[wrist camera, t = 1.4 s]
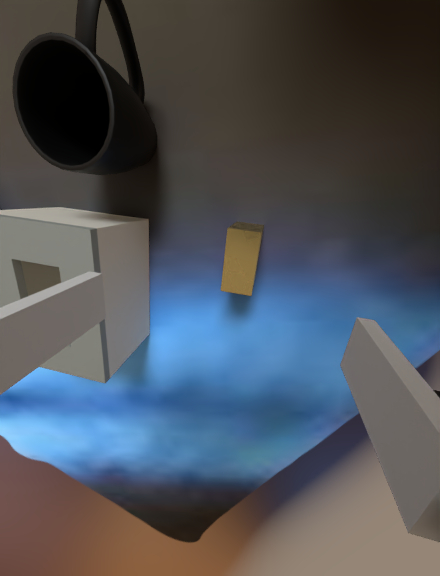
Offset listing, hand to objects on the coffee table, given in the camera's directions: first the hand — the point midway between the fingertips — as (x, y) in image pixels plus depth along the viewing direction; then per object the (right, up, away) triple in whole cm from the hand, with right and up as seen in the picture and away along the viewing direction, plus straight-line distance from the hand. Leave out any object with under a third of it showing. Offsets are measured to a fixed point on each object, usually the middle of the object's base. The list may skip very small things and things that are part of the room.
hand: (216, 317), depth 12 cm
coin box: (-15, +3, +20) cm, 25 cm away
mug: (-8, +19, +13) cm, 24 cm away
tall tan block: (+3, +6, +15) cm, 17 cm away
